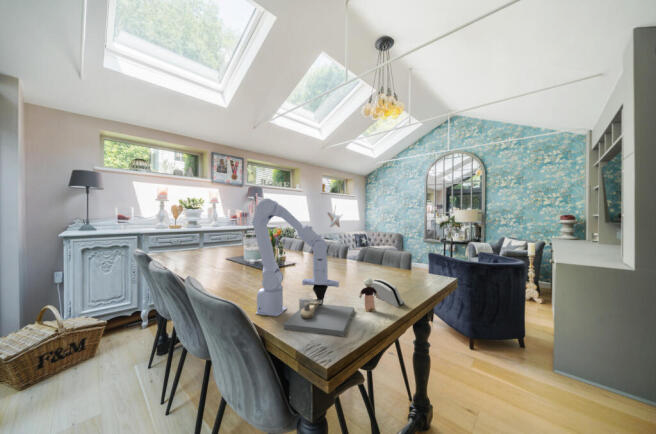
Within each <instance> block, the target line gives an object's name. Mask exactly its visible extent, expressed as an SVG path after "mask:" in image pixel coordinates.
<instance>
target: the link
mask: <svg viewBox="0 0 656 434" xmlns="http://www.w3.org/2000/svg"><path fill="white" fill-rule="evenodd" d="M311 299H317V296H313V297H312V298H311ZM318 306H319V304H313V303H308V304H305V305H304V308H303V309H301V317H302V318H311V317H313V313H314V311H315V310H316V308H317V307H318Z"/></svg>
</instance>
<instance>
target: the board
mask: <svg viewBox="0 0 656 434" xmlns="http://www.w3.org/2000/svg"><path fill="white" fill-rule="evenodd" d="M306 304H308V303H306ZM354 312H355V307H354V306H346V305H345V306H344V305H343V306H342V305H335V304H334V305H332V304H324V303H323V304H322V305H319V306H318V307H317V308H316V310H315V311H314V313H313V317H311V318H302V317H301V311H300V310H299V309H298V310H297V311H296V312H294V314H293V315H292V316H291V317H289V319H288V320H286V321H285V323H283V329H285V330H292V331H299V332H301V331H302V332H308V333H309V332H310V333H315V334H316V333H317V334H323V335H325V334H326V335H334V336H341V337H344V335H345V333H346V331H347V328H348V326H349V324H350V321H351V319H352V317H353V315H354Z"/></svg>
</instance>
